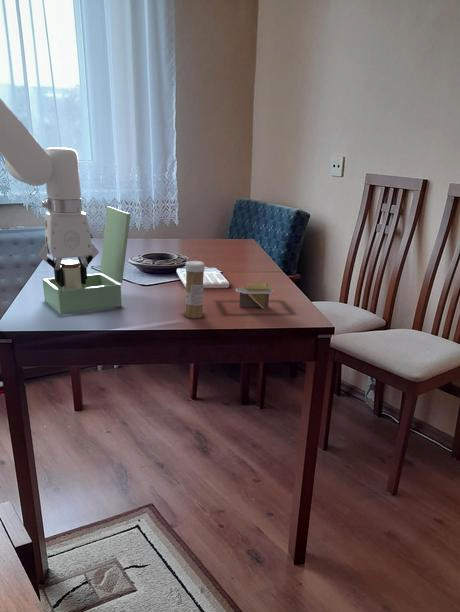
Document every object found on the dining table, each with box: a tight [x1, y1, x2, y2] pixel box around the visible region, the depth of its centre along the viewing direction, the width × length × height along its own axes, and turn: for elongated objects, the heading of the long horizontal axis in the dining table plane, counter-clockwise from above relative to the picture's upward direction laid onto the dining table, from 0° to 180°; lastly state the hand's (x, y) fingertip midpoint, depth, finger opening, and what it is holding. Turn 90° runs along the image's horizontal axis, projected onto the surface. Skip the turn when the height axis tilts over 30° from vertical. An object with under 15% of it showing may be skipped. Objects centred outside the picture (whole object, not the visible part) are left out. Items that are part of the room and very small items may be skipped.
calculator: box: [176, 267, 230, 289], centre depth 171 cm, size 13×20×2 cm, turn 13°
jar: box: [61, 259, 82, 290], centre depth 137 cm, size 5×5×11 cm
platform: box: [235, 282, 274, 310], centre depth 147 cm, size 12×18×7 cm, turn 100°
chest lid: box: [99, 205, 131, 284], centre depth 140 cm, size 17×13×1 cm
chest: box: [42, 272, 123, 315], centre depth 141 cm, size 16×13×6 cm
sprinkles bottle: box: [184, 260, 205, 319], centre depth 137 cm, size 5×5×14 cm
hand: (71, 283), depth 137 cm, fingers closed on jar, 4 cm apart
